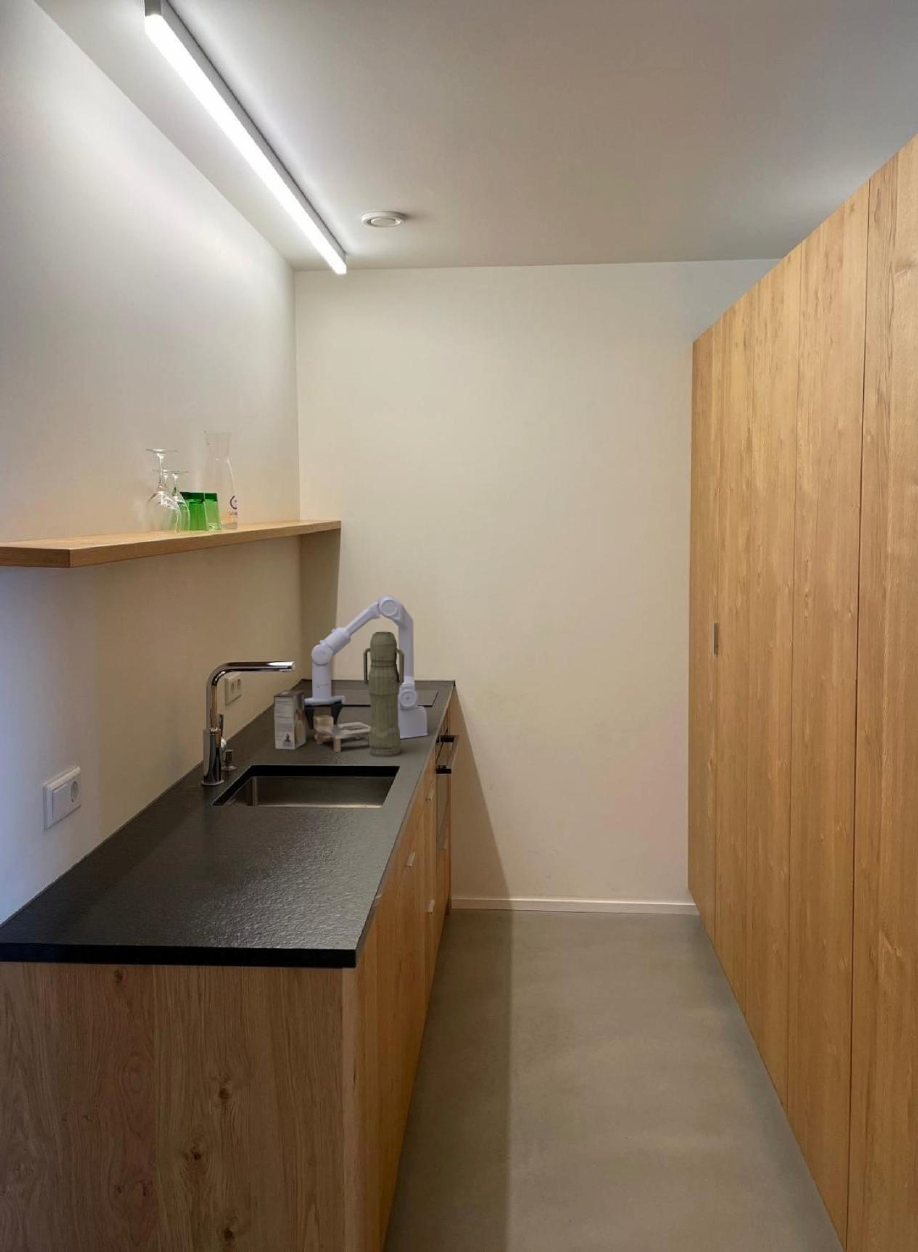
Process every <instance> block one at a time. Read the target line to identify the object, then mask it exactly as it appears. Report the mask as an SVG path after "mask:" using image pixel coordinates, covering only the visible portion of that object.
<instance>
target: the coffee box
mask: <svg viewBox="0 0 918 1252" xmlns="http://www.w3.org/2000/svg"><path fill="white" fill-rule="evenodd" d="M305 699H306V698H305V690H291V689H290V690H288V689H287V690H283V691H280V692H279V693H277V694H275V695H273V712H274V714H273V715H274V740H275V741H274V743H275V746H274V748H275V749H276V750H296V749H298V748H299V747H301V746H302V745H304V744H306V743H307V739H306V738H307V737H306V736H307V735H306V733H307V731H306V716H305Z"/></svg>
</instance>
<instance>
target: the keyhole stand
mask: <svg viewBox="0 0 918 1252" xmlns="http://www.w3.org/2000/svg"><path fill="white" fill-rule="evenodd" d="M370 729H371V725H368V724H365V723H363V722H360V721H354V722H347V723H337V724H336V725H328V726H320V727H317V730H316V734H317V740H316V743H317V744H318V745H323V744H322V743H324V741H325V740H324V737H323V733H324V734H326V735H328V736H330V737H331V739H332V738H333V739H332V740H333V752H334V753H336V752H337V753H341V752H342V750H341V739H347V738H354V739H355V738H361V739H362V736H369V732H370Z"/></svg>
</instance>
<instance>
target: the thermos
mask: <svg viewBox="0 0 918 1252" xmlns="http://www.w3.org/2000/svg"><path fill="white" fill-rule="evenodd" d="M368 654H369V656H370V665H369V666H370V667H369V668H370V669H369V670H368ZM397 660H398V664H397ZM399 669H400V681H399ZM368 671H369V672H368ZM363 683H364V685H367V686H368V695H369V698H370V705H369V706H370V726H371V729H370V732H369V735H368V745H369V755H370V754H371V756H373V757H378V758H382V757H383V758H386V757H387V758H390V757H394V756H395V757H396V756H398V755H400V753H401V749H400V746H401V738H400V729H399V727H398V695H399V692H400V690H399V686H401V685H402V684H403V683H404V653H403V652H402V650H400V649H399V647H398V643H397V639H396V636H395V633H393V632H391V631H376V632H374V633H372V636H371V638H370V643H369V647H367V648H365V650H364V652H363ZM389 756H390V757H389Z"/></svg>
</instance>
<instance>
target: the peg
mask: <svg viewBox="0 0 918 1252" xmlns="http://www.w3.org/2000/svg"><path fill="white" fill-rule="evenodd" d="M328 725H333V717H331V715H328V714H324V715H322V714H321V715H314V729H313V730H315V731H317V727H320V726H328ZM323 737H324V741H328V739H329V740H331V739H332V737H330V736H328V735H326V734H324V733H323ZM330 738H331V739H330ZM314 740H315V741H317V733H315V734H314Z"/></svg>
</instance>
